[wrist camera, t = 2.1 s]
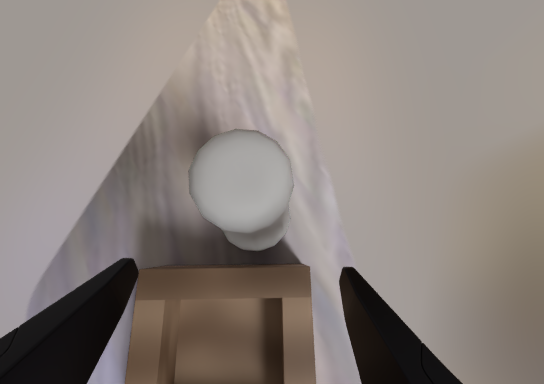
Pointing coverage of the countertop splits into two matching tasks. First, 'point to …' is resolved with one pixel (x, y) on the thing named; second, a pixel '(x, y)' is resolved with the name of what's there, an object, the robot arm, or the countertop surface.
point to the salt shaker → (243, 187)
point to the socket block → (222, 325)
